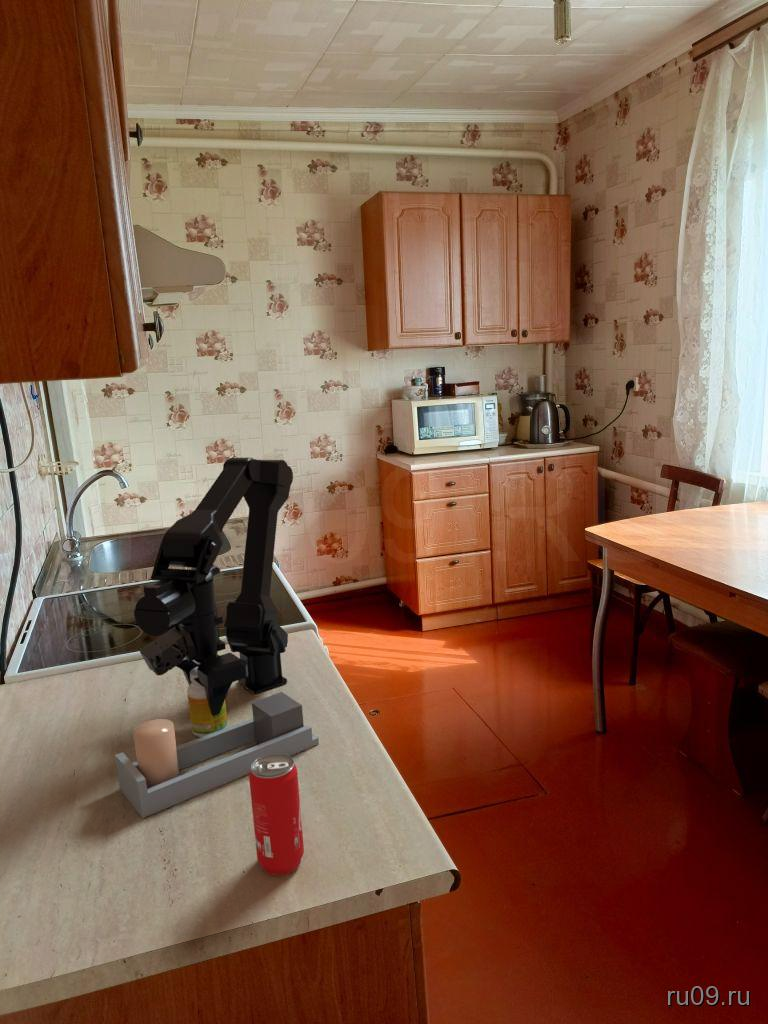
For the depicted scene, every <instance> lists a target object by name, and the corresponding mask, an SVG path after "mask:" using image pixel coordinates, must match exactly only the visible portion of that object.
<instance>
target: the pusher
mask: <svg viewBox="0 0 768 1024" xmlns="http://www.w3.org/2000/svg"><path fill="white" fill-rule="evenodd" d="M251 708H252V709H251V710H252V718H253V721H254V732H255V740H254V741H256V742H257V743H258V744H262V743H264V742H267V741H269V740H272V739H274V738H277V737H279V736H282V735H284V734H287V733H289V732H292V731H294V730H297V729H299V728H302V727H304V713H303V704H301V703H300V702H298V701H297V700H295V699H294V698H292V697H290V696H288V695H287V694H286V693H284V692H282V691H280V692H277V693H274V694H271V695H269V696H266V697H263V698H260V699H258V700H255V701H251Z"/></svg>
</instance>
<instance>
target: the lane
mask: <svg viewBox="0 0 768 1024" xmlns="http://www.w3.org/2000/svg"><path fill="white" fill-rule="evenodd" d="M312 730H313V729H312V727H311V726H310V725H308V724H307V725H305V726H304V727H302V728H299V729H297V730H294V731H292V732H289V733H287V734H284V735H282V736H279V737H277V738H274V739H272V740H269V741H267V742H264V743H262V744H260V743H258V744H257V745H254V746H252V747H249V748H247V749H244V750H241V751H239V752H237V753H234V754H231V755H229V756H227V757H224V758H222V759H219V760H217V761H214V762H212V763H209V764H206V765H203V766H201V767H198V768H197V769H194V770H192V771H189V772H186V773H184V774H181V775H179V777H176V778H174V779H171V780H169V781H166V782H164V783H161V784H158V785H156V786H153V787H151V788H148V789H147V785H146V779H145V778H144V776H143V775H142V774H141V773H140V772H139V771H138V765H137V760H136V761H133V762H132V760H130V759H129V758H128V756H127V755H126V754H125V753H124V752H123V751H122V752H119V753H117V754H115V755H114V756H115V763H116V769H117V777H118V786H119V790H120V791H121V793H122V794H124V796H125V797H126V799H127V801H129V803H130V804H131V806H133V808H134V809H135V810H136V812H137V813H138V814H139V815H140V817H141V818H142V819H144V818H147V817H148V816H151V815H154V814H156V813H158V812H161V811H163V810H165V809H168V808H171V807H173V806H175V805H178V804H180V803H182V802H184V801H187V800H190V799H191V798H194V797H197V796H200V795H201V794H204V793H206V792H209V791H211V790H213V789H215V788H218V787H220V786H222V785H225V784H227V783H230V782H233V781H235V780H237V779H239V778H242V777H245V776H246V775H249V773H250V771H251V765H252V763H253V762H254V761H255V760H257V759H258V758H260V757H262V756H265V755H269V754H285V755H288V756H290V757H292V756H294V755H297V754H299V753H302V752H304V751H306V750H308V748H309V747H311V748H313V747H315V746H314V745H316V746H318V745H319V744H320V741H319V737H318V736H316V735H315V734H313V731H312ZM255 741H256V740H255V732H254V721H253V717H252V718H249V719H246V720H244V721H241V722H239V723H235V724H233V725H230V726H227V728H225V729H222V730H220V731H217V732H214V733H211V734H209V735H206V736H203V737H198V738H196V739H192V740H191V741H188V742H185V743H182V744H179V745H176V750H177V759H178V768H179V771H180V770H182V769H185V768H188V767H190V766H193V765H195V764H197V763H201V762H203V761H206V760H208V759H210V758H213V757H215V756H218V755H221V754H223V753H226V752H228V751H231V750H233V749H236V748H239V747H241V746H244V745H247V744H248V743H251V742H255ZM317 744H318V745H317ZM312 746H313V747H312ZM305 749H306V750H305ZM309 749H310V748H309ZM303 750H304V751H303ZM301 751H302V752H301ZM296 753H297V754H296Z"/></svg>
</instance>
